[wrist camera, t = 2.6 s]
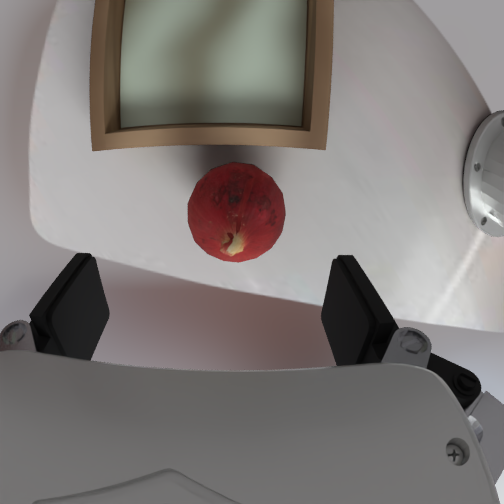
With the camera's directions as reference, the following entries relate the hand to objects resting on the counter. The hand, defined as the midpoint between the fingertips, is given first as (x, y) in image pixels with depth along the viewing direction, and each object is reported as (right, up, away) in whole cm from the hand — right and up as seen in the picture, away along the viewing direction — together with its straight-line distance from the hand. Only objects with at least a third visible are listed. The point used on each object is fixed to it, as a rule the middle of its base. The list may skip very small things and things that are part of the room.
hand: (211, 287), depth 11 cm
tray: (-1, +15, +4) cm, 16 cm away
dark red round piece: (0, +6, +10) cm, 11 cm away
